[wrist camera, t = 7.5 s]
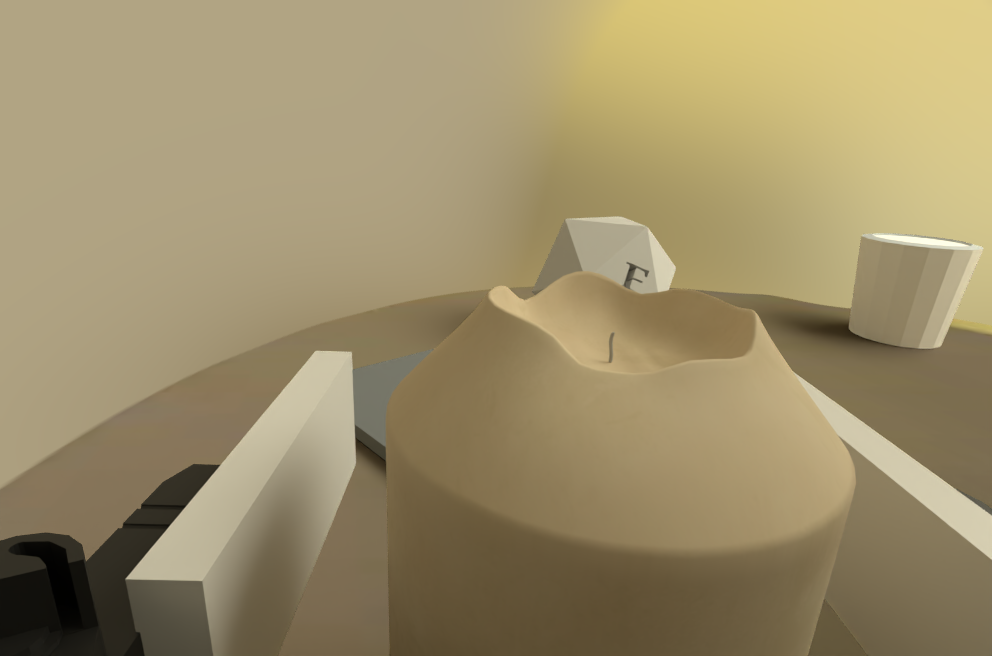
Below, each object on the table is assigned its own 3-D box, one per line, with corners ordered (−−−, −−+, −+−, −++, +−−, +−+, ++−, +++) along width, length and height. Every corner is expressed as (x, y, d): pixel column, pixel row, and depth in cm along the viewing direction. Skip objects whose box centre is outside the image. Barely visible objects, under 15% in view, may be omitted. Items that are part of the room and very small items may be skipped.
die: (510, 349, 36) (584, 245, 29) (522, 263, 41) (587, 159, 35) (620, 391, 37) (715, 302, 31) (617, 302, 43) (696, 211, 36)
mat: (854, 482, 21) (857, 468, 21) (683, 688, 13) (687, 668, 12) (497, 341, 35) (498, 332, 35) (299, 395, 26) (298, 383, 26)
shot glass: (842, 339, 39) (867, 239, 37) (836, 316, 45) (857, 229, 42) (964, 359, 36) (999, 252, 34) (940, 331, 42) (969, 238, 39)
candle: (371, 1123, 7) (334, 385, 4) (408, 701, 12) (405, 246, 9) (794, 1087, 7) (1073, 395, 4) (653, 694, 12) (731, 257, 9)
